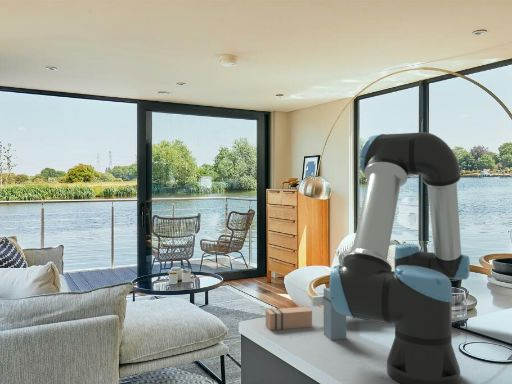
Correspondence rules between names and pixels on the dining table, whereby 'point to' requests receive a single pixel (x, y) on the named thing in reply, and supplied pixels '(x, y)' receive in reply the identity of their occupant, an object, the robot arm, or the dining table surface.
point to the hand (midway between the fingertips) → (312, 301)
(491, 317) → the dining table surface
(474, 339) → the dining table surface
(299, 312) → the post
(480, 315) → the dining table surface
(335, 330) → the post
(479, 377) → the dining table surface
